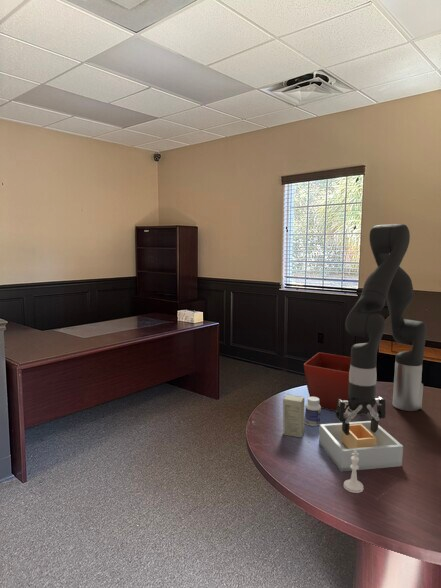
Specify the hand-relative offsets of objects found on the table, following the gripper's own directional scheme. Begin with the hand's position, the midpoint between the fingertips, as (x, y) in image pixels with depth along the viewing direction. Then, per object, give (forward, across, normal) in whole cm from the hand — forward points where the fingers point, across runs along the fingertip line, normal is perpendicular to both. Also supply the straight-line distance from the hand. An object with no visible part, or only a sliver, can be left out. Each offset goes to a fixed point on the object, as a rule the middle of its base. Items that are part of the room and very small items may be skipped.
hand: (359, 432), depth 121 cm
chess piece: (+7, +9, +15) cm, 19 cm away
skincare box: (+7, +15, -15) cm, 22 cm away
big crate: (+7, 0, 0) cm, 7 cm away
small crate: (+6, 0, 0) cm, 6 cm away
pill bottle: (+7, +6, -21) cm, 23 cm away
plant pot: (+7, -8, -35) cm, 36 cm away
